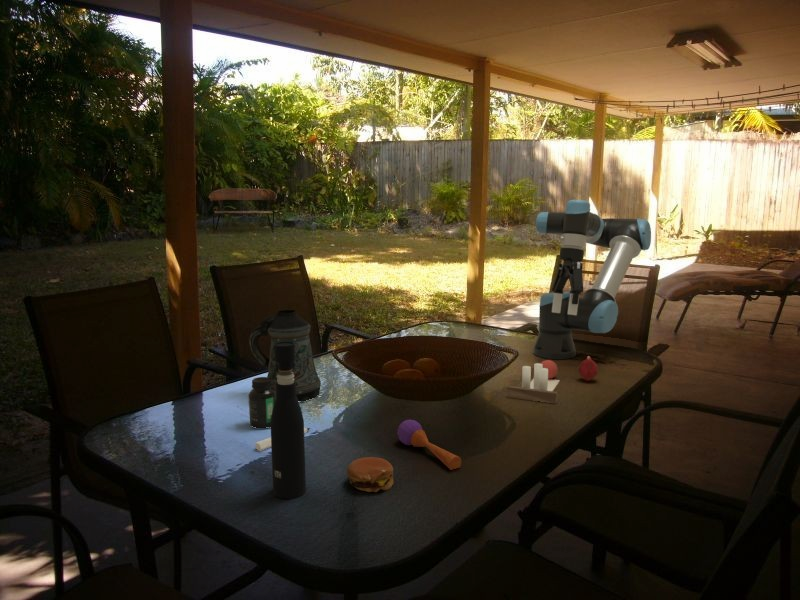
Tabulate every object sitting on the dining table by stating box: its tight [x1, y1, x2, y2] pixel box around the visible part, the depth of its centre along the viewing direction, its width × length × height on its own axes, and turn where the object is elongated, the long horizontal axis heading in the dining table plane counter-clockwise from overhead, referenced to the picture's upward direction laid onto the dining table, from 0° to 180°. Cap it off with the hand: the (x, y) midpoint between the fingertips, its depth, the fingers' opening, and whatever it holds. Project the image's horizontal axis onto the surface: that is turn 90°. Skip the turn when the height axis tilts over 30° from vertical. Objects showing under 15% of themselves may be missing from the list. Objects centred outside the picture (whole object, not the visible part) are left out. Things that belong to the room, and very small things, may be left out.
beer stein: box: [248, 309, 322, 402], centre depth 176 cm, size 16×19×25 cm
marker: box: [254, 427, 312, 452], centre depth 145 cm, size 3×2×16 cm
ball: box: [540, 359, 559, 379], centre depth 194 cm, size 6×6×6 cm
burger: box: [346, 456, 394, 493], centre depth 123 cm, size 10×9×5 cm
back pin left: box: [539, 368, 548, 391], centre depth 175 cm, size 2×2×8 cm
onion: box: [578, 355, 599, 382], centre depth 191 cm, size 6×6×8 cm
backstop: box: [506, 385, 558, 405], centre depth 174 cm, size 2×14×3 cm, turn 65°
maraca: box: [397, 419, 462, 471], centre depth 137 cm, size 6×6×20 cm
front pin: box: [533, 362, 543, 390], centre depth 180 cm, size 2×2×8 cm
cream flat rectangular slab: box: [530, 377, 560, 392], centre depth 188 cm, size 13×8×1 cm, turn 155°
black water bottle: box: [270, 342, 307, 500], centre depth 118 cm, size 6×6×30 cm
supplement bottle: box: [248, 376, 276, 428], centre depth 154 cm, size 7×7×12 cm
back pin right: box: [521, 365, 532, 388], centre depth 177 cm, size 2×2×8 cm
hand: (563, 313), depth 196 cm, fingers open, 13 cm apart
